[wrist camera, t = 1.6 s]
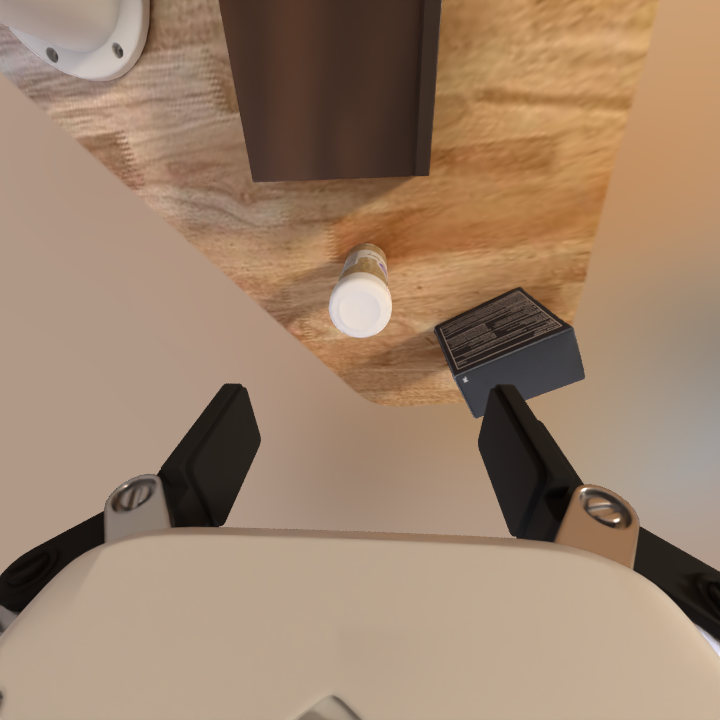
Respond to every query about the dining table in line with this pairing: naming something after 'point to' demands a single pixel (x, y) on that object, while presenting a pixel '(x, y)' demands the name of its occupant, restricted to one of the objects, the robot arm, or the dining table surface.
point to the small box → (509, 349)
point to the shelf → (334, 85)
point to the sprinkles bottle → (362, 293)
